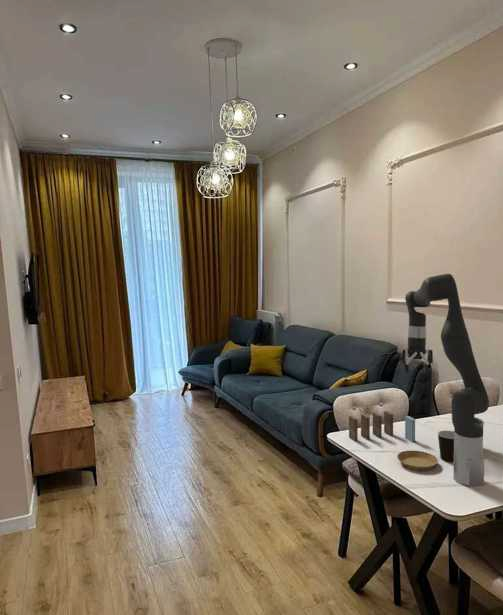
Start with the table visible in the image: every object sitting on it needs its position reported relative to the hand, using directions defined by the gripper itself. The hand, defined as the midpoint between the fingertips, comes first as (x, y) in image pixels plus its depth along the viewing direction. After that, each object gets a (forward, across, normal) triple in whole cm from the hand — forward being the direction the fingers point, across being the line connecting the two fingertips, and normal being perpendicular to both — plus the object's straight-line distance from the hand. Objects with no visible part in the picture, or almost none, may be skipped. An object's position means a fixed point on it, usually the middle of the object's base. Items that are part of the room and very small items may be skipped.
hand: (415, 372), depth 199 cm
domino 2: (+30, +21, -4) cm, 37 cm away
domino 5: (+29, +3, +2) cm, 29 cm away
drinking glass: (+29, -17, +14) cm, 37 cm away
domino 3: (+29, +15, -5) cm, 33 cm away
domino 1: (+30, +27, -3) cm, 40 cm away
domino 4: (+29, +9, -6) cm, 31 cm away
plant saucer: (+32, +11, +25) cm, 42 cm away
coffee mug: (+30, -5, +22) cm, 38 cm away
